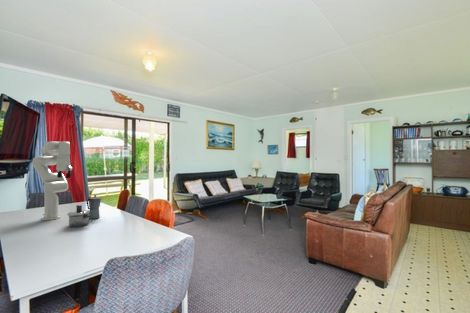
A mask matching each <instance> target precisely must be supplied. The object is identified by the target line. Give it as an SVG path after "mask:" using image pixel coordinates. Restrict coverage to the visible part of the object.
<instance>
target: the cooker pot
mask: <svg viewBox="0 0 470 313" xmlns="http://www.w3.org/2000/svg"><path fill="white" fill-rule="evenodd" d="M67 216H68V228H71V229H72V228H73V229H74V228H83V227H86V226H88V225H90V219H89V217H91V215H89V213H88V214H85V215H79V216H69V215H68V214H67Z"/></svg>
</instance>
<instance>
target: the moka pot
mask: <svg viewBox="0 0 470 313" xmlns="http://www.w3.org/2000/svg"><path fill="white" fill-rule="evenodd" d="M101 200H102V197H101V196H97V194H94V196H92V197H89V198H87V200H86V206H87V210H89V211H90V213H89V215H91V217H89V220H94V219H99V218H100V217H101V216H100V206H101Z"/></svg>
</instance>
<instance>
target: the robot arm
mask: <svg viewBox="0 0 470 313" xmlns="http://www.w3.org/2000/svg"><path fill="white" fill-rule="evenodd" d="M39 152H40V154H41V155H38V156H35V157H33V159H32V165H33V168H34V169H35V170H36V171H37V173H38V175H39V177H40V179H41V182H42V184H43V186H42V190H43V194H44V195H43V196H44V199H43V200H44V205H43V206H44V208H43V209H44V213H42V216H43V217H42V218H41V220H42V221H51V220H58V219H60V218H61V216H62V215H59V198H60V197H59V196H58V194H56V193H62V192H66V191H68V190H69V183H68V181H67V179H71V173H72V172H73V167H72V166H71V157H70V156H71V155H70V154H71V143H70V141H53V140H52V141H50V140H49V141H46V142H45V143H44V144H43V146H42V147H41V148H40V150H39ZM55 165H56V167H55V171H56V172H52V171H51V169H50V168H49V167H48V166H55ZM63 172H66V173H65V175H64V174H63Z"/></svg>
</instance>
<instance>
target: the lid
mask: <svg viewBox="0 0 470 313" xmlns="http://www.w3.org/2000/svg"><path fill="white" fill-rule="evenodd" d="M75 206H76V210H74V211H73V210H72V211H69V212H68V213H67V216H68V215H69V216H79V215H85V214H88V213H90V209H82V208H83V207H82V204H77V205H75ZM69 216H68V217H69Z"/></svg>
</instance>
